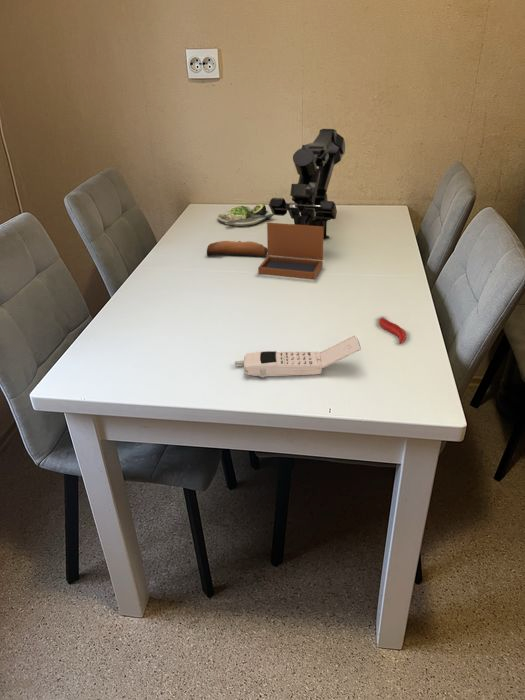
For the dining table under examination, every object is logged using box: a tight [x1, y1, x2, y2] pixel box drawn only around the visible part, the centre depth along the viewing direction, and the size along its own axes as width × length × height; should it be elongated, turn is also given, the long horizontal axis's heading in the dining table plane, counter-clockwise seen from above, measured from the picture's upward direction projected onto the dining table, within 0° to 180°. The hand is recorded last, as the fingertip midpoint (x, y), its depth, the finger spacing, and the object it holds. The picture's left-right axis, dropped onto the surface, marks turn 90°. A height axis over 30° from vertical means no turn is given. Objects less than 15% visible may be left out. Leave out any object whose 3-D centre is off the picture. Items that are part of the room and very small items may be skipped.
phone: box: [266, 261, 317, 272], centre depth 156 cm, size 7×14×1 cm, turn 72°
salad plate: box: [217, 203, 275, 227], centre depth 195 cm, size 19×18×5 cm
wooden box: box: [257, 255, 324, 280], centre depth 156 cm, size 9×16×2 cm, turn 72°
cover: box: [266, 222, 324, 261], centre depth 156 cm, size 9×16×1 cm
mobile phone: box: [234, 335, 362, 378], centre depth 113 cm, size 6×6×25 cm
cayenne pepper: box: [378, 317, 407, 344], centre depth 126 cm, size 12×5×2 cm, turn 3°
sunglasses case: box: [206, 240, 268, 258], centre depth 169 cm, size 18×7×7 cm, turn 80°
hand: (297, 235), depth 158 cm, fingers closed
